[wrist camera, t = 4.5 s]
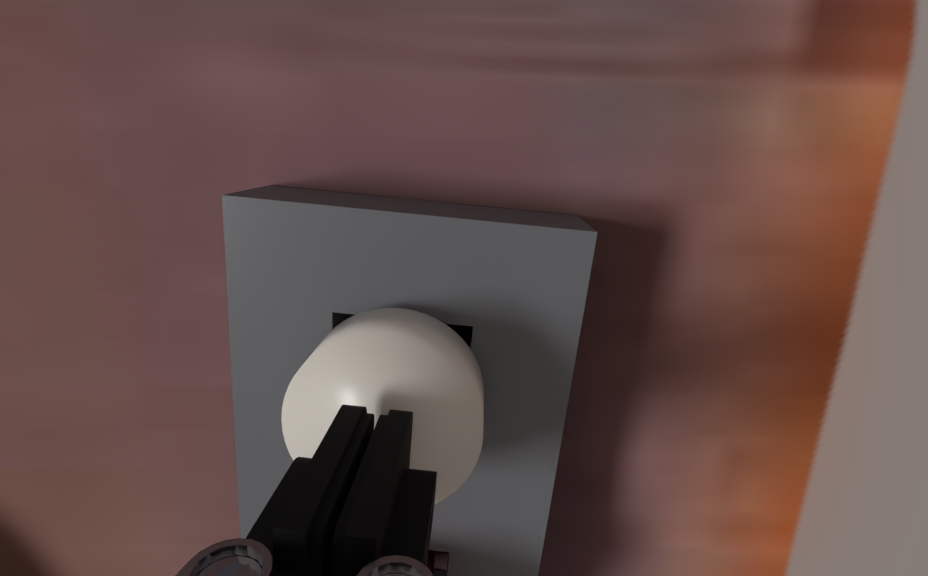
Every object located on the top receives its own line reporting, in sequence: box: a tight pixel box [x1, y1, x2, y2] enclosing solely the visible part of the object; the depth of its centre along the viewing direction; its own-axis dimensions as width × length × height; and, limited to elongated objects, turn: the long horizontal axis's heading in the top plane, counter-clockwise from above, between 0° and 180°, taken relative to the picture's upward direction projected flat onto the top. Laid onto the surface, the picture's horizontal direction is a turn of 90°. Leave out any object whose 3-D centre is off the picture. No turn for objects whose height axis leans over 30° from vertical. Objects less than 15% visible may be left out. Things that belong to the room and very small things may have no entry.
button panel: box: [222, 185, 598, 576], centre depth 18 cm, size 26×10×3 cm, turn 175°
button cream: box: [281, 308, 484, 504], centre depth 14 cm, size 5×5×5 cm
